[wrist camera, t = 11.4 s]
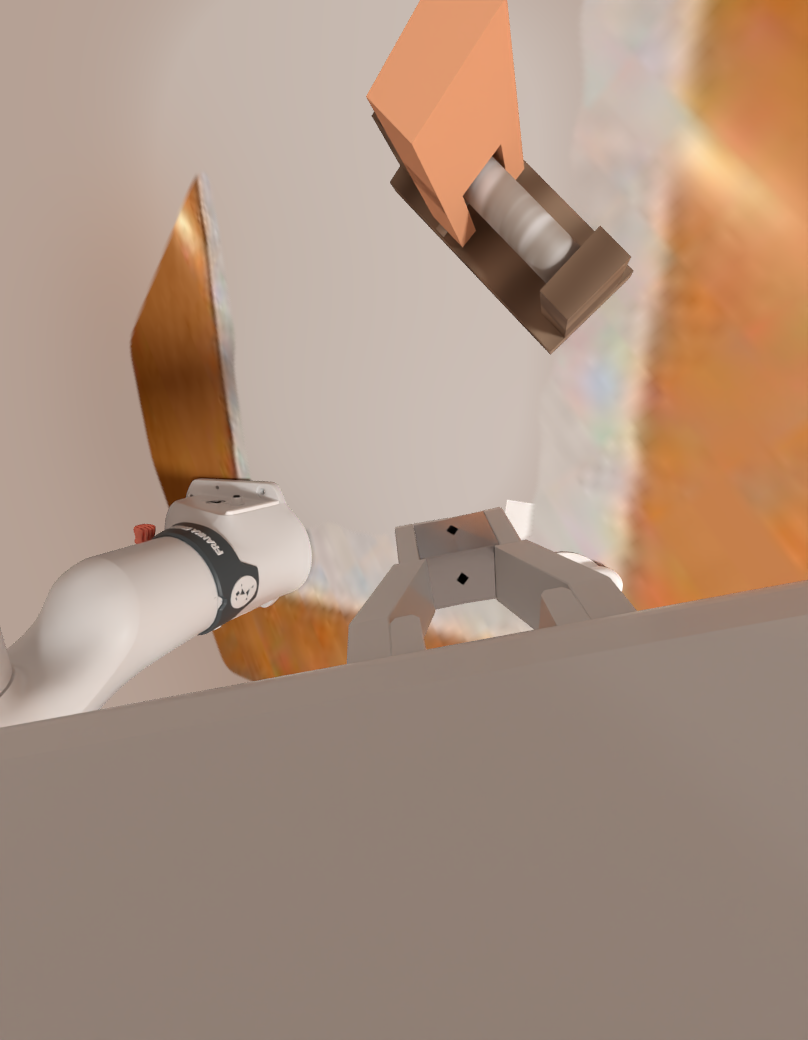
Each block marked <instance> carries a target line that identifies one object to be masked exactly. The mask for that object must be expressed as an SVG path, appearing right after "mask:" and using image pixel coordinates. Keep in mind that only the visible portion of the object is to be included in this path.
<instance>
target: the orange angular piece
mask: <svg viewBox="0 0 808 1040" xmlns="http://www.w3.org/2000/svg"><path fill="white" fill-rule="evenodd" d="M366 97H367V99H368V101H369V103H370V104H371V106H372V108H373V110H374V112H375V113H376V115H377V117H378V119H379V120H380V122H381V124H382V126H383V128H384V129H385V131H386V133H387V135H388V137H389V138H390V140H391V142H392V144H393V146H394V147H395V149H396V151H397V153H398V154H399V156H400V158H401V160H402V162H403V163H404V165H405V167H406V169H407V171H408V172H409V174H410V176H411V178H412V180H413V181H414V183H415V185H416V187H417V189H418V190H419V192H420V194H421V196H422V197H423V199H424V201H425V203H426V205H427V206H428V208H429V210H430V212H431V214H432V215H433V217H434V218H435V219H436V220H437V221H438V222H439V223H440V224H441V225H442V226H443V227H444V229H445V230H446V231H447V232H448V233H449V234H450V235H451V236H452V237H453V238H454V239H455V240H456V241H457V242H458V243H459V244H460V245H461V246H462V247H463V246H464V245H465V244H466V243H467V241H468V240H469V239H470V238H471V236H472V235H473V234H474V232H475V231H476V230H475V227H474V224H473V222H472V219H471V216H470V214H469V211H468V209H467V206H466V203H465V201H464V198H463V195H464V193H465V192H466V191H467V189H468V188H469V187H470V185H471V184H472V183H473V181H474V180H475V178H476V177H477V176H478V174H479V173H480V172H481V170H482V169H483V168H484V166H485V165H486V164H487V162H488V161H489V160H490V158H491V157H493V158H494V159H495V160H496V161H497V162H498V163H499V164H500V165H501V166H502V167H503V168H504V169H505V170H506V171H507V172H508V173H509V174H510V175H511V176H512V177H513V178H514V179H515V180H516V179H517V178H518V176H519V175H520V174H521V173H522V171H523V170H524V162H523V152H522V142H521V132H520V123H519V113H518V103H517V93H516V83H515V73H514V63H513V53H512V44H511V35H510V24H509V14H508V4H507V0H420V1H419V3H418V5H417V7H416V9H415V11H414V12H413V14H412V16H411V17H410V19H409V21H408V23H407V25H406V26H405V28H404V30H403V32H402V34H401V36H400V37H399V39H398V41H397V42H396V44H395V46H394V48H393V50H392V51H391V53H390V55H389V57H388V59H387V60H386V62H385V64H384V66H383V67H382V69H381V71H380V73H379V74H378V76H377V78H376V80H375V82H374V84H373V85H372V87H371V89H370V90H369V92H368V94H367V96H366Z"/></svg>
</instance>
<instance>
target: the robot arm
mask: <svg viewBox="0 0 808 1040" xmlns="http://www.w3.org/2000/svg"><path fill="white" fill-rule="evenodd" d="M264 490H265V493H264ZM413 525H414V527H413ZM414 531H415V532H414ZM134 533H135V543H136V544H135V545H132V546H128V547H125V548H121V549H118V550H114V551H111V552H107V553H103V554H100V555H96V556H93V557H89V558H87V559H84V560H82V561H80V562H79V563H77V564H76V565H74V566H72V567H71V568H70V569H68V570H67V571H66V572H65V573H63V574H62V575H61V576H60V577H59V578H58V580H57V581H56V582H55V583H54V585H53V586H52V588H51V590H50V592H49V593H48V596H47V598H46V601H45V603H44V605H43V607H42V610H41V612H40V614H39V615H38V617H37V619H36V620H35V622H34V623H33V624H32V626H31V627H30V628H29V629H28V630H27V631H26V632H25V634H24V635H23V636H22V637H20V638H19V639H18V640H17V641H16V642H15V643H14V644H13V645H12V646H10V647H9V648H8V649H6V646H5V643H4V639H3V635H2V632H1V628H0V1040H808V580H804V581H799V582H793V583H788V584H782V585H777V586H771V587H766V588H760V589H755V590H749V591H744V592H738V593H733V594H728V595H722V596H717V597H711V598H706V599H701V600H695V601H690V602H685V603H679V604H674V605H669V606H663V607H658V608H652V609H647V610H641V611H637V610H636V609H635V608H634V607H633V605H632V604H631V603H630V602H629V601H628V599H627V598H626V597H625V596H624V594H623V593H622V592H621V591H620V589H619V588H618V587H617V586H616V584H615V583H614V582H613V581H612V579H611V578H610V577H608V576H606V575H604V574H602V573H599V572H597V571H595V570H593V569H591V568H588V567H586V566H584V565H582V564H579V563H577V562H575V561H573V560H571V559H568V558H566V557H564V556H562V555H559V554H557V553H555V552H553V551H551V550H548V549H546V548H544V547H542V546H540V545H537V544H535V543H533V542H531V541H528V540H522V541H521V539H520V538H519V536H518V534H517V533H516V531H515V529H514V528H513V526H512V524H511V522H510V521H509V519H508V517H507V516H506V514H505V512H504V511H503V509H502V508H500V507H497V508H493V509H488V510H484V511H481V512H476V513H472V514H466V515H462V516H457V517H452V518H444V519H438V520H433V521H426V522H421V523H415V524H409V525H404V526H399V527H395V534H396V543H397V552H398V561H399V564H395V565H393V566H392V568H391V569H390V570H389V572H388V573H387V574H386V576H385V577H384V579H383V580H382V581H381V583H380V584H379V585H378V587H377V588H376V589H375V591H374V592H373V593H372V595H371V596H370V597H369V599H368V600H367V601H366V603H365V604H364V605H363V607H362V608H361V609H360V611H359V612H358V613H357V615H356V616H355V617H354V619H353V620H352V622H351V623H350V624H349V634H348V652H347V664H346V665H340V666H335V667H329V668H324V669H319V670H313V671H308V672H302V673H297V674H291V675H286V676H280V677H275V678H269V679H264V680H259V681H253V682H248V683H242V684H237V685H231V686H226V687H220V688H215V689H209V690H204V691H198V692H193V693H187V694H182V695H177V696H171V697H166V698H160V699H154V700H149V701H143V702H138V703H133V704H127V705H122V706H116V707H111V708H105V709H100V708H101V707H102V706H103V705H104V704H105V703H106V702H107V701H108V700H109V699H110V698H111V697H112V696H113V695H114V694H115V693H116V692H117V691H118V690H119V689H120V688H121V687H122V686H123V685H124V684H126V683H127V682H128V681H129V680H130V679H131V678H133V677H134V676H135V675H136V674H138V673H139V672H140V671H142V670H143V669H144V668H146V667H148V666H149V665H151V664H152V663H154V662H155V661H157V660H158V659H160V658H161V657H163V656H164V655H166V654H167V653H169V652H170V651H172V650H174V649H175V648H177V647H178V646H180V645H182V644H183V643H185V642H186V641H188V640H189V639H191V638H193V637H195V636H196V635H203V634H206V633H208V632H210V631H212V630H216V629H217V628H219V627H221V625H223V624H225V623H226V622H228V621H230V620H232V619H234V618H236V617H238V616H240V615H243V614H245V613H247V612H249V611H251V610H253V609H255V608H257V607H260V606H261V607H268V606H270V605H272V604H273V603H274V602H275V601H276V600H277V599H278V598H279V597H280V596H283V595H286V594H289V593H292V592H294V591H296V590H297V589H298V588H300V587H301V586H302V585H303V584H304V582H305V581H306V579H307V577H308V575H309V572H310V569H311V563H312V550H311V544H310V540H309V537H308V534H307V532H306V530H305V528H304V526H303V524H302V522H301V521H300V519H299V518H298V517H297V515H296V514H295V513H294V512H293V511H292V510H291V509H290V507H289V506H288V504H287V503H286V501H285V498H284V496H283V493H282V491H281V489H280V487H279V486H278V485H277V484H276V483H274V482H265V481H245V480H225V479H204V478H200V479H196V480H193V481H192V483H191V485H190V486H189V489H188V492H187V495H186V498H184V499H180V500H177V501H175V502H174V503H172V505H171V506H170V508H169V510H168V512H167V515H166V520H165V530H164V531H162V532H161V533H159V534H157V535H156V536H154V535H155V526H154V525H151V524H142V525H138V526H135V527H134ZM415 536H416V537H415ZM416 541H417V542H416ZM495 598H497V600H498V601H499V602H500V603H501V604H503V605H504V606H505V607H506V608H508V609H509V610H510V611H512V612H513V613H514V614H515V615H517V616H518V617H519V618H520V619H522V620H523V621H524V622H525V623H527V624H528V625H529V626H530V627H532V628H533V629H534V630H531V631H525V632H520V633H515V634H509V635H504V636H498V637H493V638H487V639H482V640H477V641H471V642H466V643H460V644H455V645H449V646H444V647H439V648H433V649H428V650H426V646H425V642H424V636H425V634H426V632H427V629H428V627H429V625H430V622H431V620H432V618H433V616H434V613H435V610H436V609H440V608H445V607H450V606H454V605H459V604H464V603H470V602H476V601H482V600H489V599H495ZM99 709H100V710H99Z"/></svg>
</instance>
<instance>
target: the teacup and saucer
mask: <svg viewBox="0 0 808 1040" xmlns="http://www.w3.org/2000/svg"><path fill="white" fill-rule="evenodd" d="M557 554H559V555H562V556H564V557H566V558H568V559H571V560H573V561H575V562H577V563H579V564H582V565H584V566H586V567H588V568H591V569H593V570H595V571H597V572H599V573H602V574H604V575H606V576H608V577H610V578H611V579H612V581H613V582H614V583H615V584H616V586H617V587H618V588H619V589H620V591H621V592H622V588H623V583H622V580H621V578H620V576H619V575H618V574H617V573H616V572H615V571H614V570H612V569H610V568H607V567H603V566H598V565H597V564H596V563H595V562H593V561H592V560H590V559H589V558H587V557H585V556H582V555H579V554H576V553H570V552H559V553H557Z"/></svg>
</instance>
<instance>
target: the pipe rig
mask: <svg viewBox="0 0 808 1040" xmlns="http://www.w3.org/2000/svg"><path fill="white" fill-rule="evenodd" d="M372 117H373V119H374V120H375V122H376V124H377V126H378V128H379V129H380V131H381V133H382V134H383V136H384V138H385V140H386V141H387V143H388V145H389V147H390V148H391V150H392V152H393V154H394V155H395V157H396V159H397V161H398V162H399V164H400V167H399V169H398V171H397V172H396V174H395V175H394V177H393V178H392V180H391V181H390V183H391V185H392V186H393V187H394V189H395V191H396V192H397V193H398V194H399V195H400V196H401V197H402V198H403V199H404V200H405V202H406V203H407V204H408V205H409V206H410V207H411V208H412V209H413V210H414V211H415V212H416V213H417V214H418V215H419V216H420V217H421V218H422V219H423V220H424V222H425V223H426V224H427V225H428V226H429V227H430V228H431V229H432V230H433V231H434V232H435V233H436V234H437V235H438V236H439V237H440V238H441V239H442V240H443V242H444V243H445V244H446V245H447V246H448V247H449V248H450V249H451V250H452V251H453V252H454V253H455V254H456V255H457V256H458V257H459V259H460V260H461V261H462V262H463V263H464V264H465V265H466V266H467V267H468V268H469V269H470V270H471V271H472V272H473V273H474V274H475V275H476V276H477V278H479V280H480V281H481V282H482V283H483V284H484V285H485V286H486V287H487V288H488V289H489V290H490V291H491V292H492V293H493V294H494V295H495V297H496V298H497V299H498V300H499V301H500V302H501V303H502V304H503V305H504V306H505V307H506V308H507V309H508V310H509V311H510V312H511V313H512V314H513V315H514V316H515V318H516V319H517V320H518V321H519V322H520V323H521V324H522V325H523V326H524V327H525V328H526V329H527V330H528V331H529V332H530V333H531V335H532V336H534V338H535V339H536V340H537V341H538V342H539V343H540V344H541V345H542V346H543V347H544V348H545V349H546V350H547V351H548V353H549V354H552V353H553V352H554V351H555V350H556V349H557V348H558V347H559V346H560V345H561V344H562V343H563V342H564V341H565V340H566V339H567V338H568V337H569V336H570V335H571V334H572V333H573V332H574V331H575V330H576V329H577V328H578V327H579V326H580V325H582V324H583V323H584V322H585V321H586V320H587V319H588V318H589V317H590V316H591V315H592V314H593V313H594V312H595V311H596V310H597V309H598V308H599V307H600V306H601V305H602V304H603V303H604V302H605V301H606V300H607V299H608V298H609V297H610V296H611V295H612V294H613V293H615V292H616V291H617V290H618V289H619V288H620V287H621V286H622V285H623V284H624V283H625V282H626V281H627V280H628V279H629V278H630V276H631V275H632V273H633V270H632V269H631V268H630V267H629V266H628V265H627V264H628V262H629V260H630V258H631V256H630V255H629V254H628V253H627V252H626V251H625V250H624V249H623V248H622V247H621V246H620V245H619V244H618V243H617V242H616V241H615V240H614V239H613V238H612V237H611V236H610V235H609V234H608V233H607V232H606V231H605V230H604V229H603V228H602V227H601V226H599V227H598V229H597V230H596V231H594V230H593V229H592V228H591V227H590V226H589V225H588V224H587V223H586V222H585V221H584V220H583V219H582V218H581V217H580V216H579V215H578V214H577V213H576V212H575V211H574V210H573V209H572V208H571V207H570V206H569V205H568V204H567V203H566V202H565V201H564V200H563V199H562V198H561V197H560V196H559V195H558V194H557V193H556V192H555V191H554V190H553V189H552V188H551V187H550V186H549V185H548V184H547V183H546V182H545V181H544V180H543V179H542V178H541V177H540V176H539V175H538V174H537V173H536V172H535V171H534V170H533V169H532V168H531V167H530V166H529V165H528V164H527V163H526V162H525V161H524V160H523V162H524V170H523V171H522V173H521V174H520V175H519V176H518V178H517V179H516V180H515V179H514V178H513V177H512V176H511V175H510V174H509V173H508V172H507V171H506V170H505V169H504V168H503V167H502V166H501V165H500V164H499V163H498V162H497V161H496V160H495V159H494V158H493V157H491V158H490V160H489V161H488V162H487V164H486V165H485V166H484V168H483V169H482V170H481V172H480V173H479V174H478V176H477V177H476V178H475V180H474V181H473V183H472V184H471V185H470V187H469V188H468V189H467V191H466V192H465V193H464V195H463V198H464V201H465V203H466V206H467V209H468V211H469V214H470V216H471V219H472V222H473V224H474V227H475V230H476V231H475V232H474V234H473V235H472V236H471V238H470V239H469V240H468V241H467V243H466V244H465V245H464V246H463V247H462V246H461V245H460V244H459V243H458V242H457V241H456V240H455V239H454V238H453V237H452V236H451V235H450V234H449V233H448V232H447V231H446V230H445V229H444V227H443V226H442V225H441V224H440V223H439V222H438V221H437V220H436V219H435V218H434V217H433V215H432V214H431V212H430V210H429V208H428V206H427V205H426V203H425V201H424V199H423V197H422V196H421V194H420V192H419V190H418V189H417V187H416V185H415V183H414V181H413V180H412V178H411V176H410V174H409V172H408V171H407V169H406V167H405V165H404V163H403V162H402V160H401V158H400V156H399V154H398V153H397V151H396V149H395V147H394V146H393V144H392V142H391V140H390V138H389V137H388V135H387V133H386V131H385V129H384V128H383V126H382V124H381V122H380V120H379V119H378V117H377V115H376V113H375V112H374V113H373V115H372Z"/></svg>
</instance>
